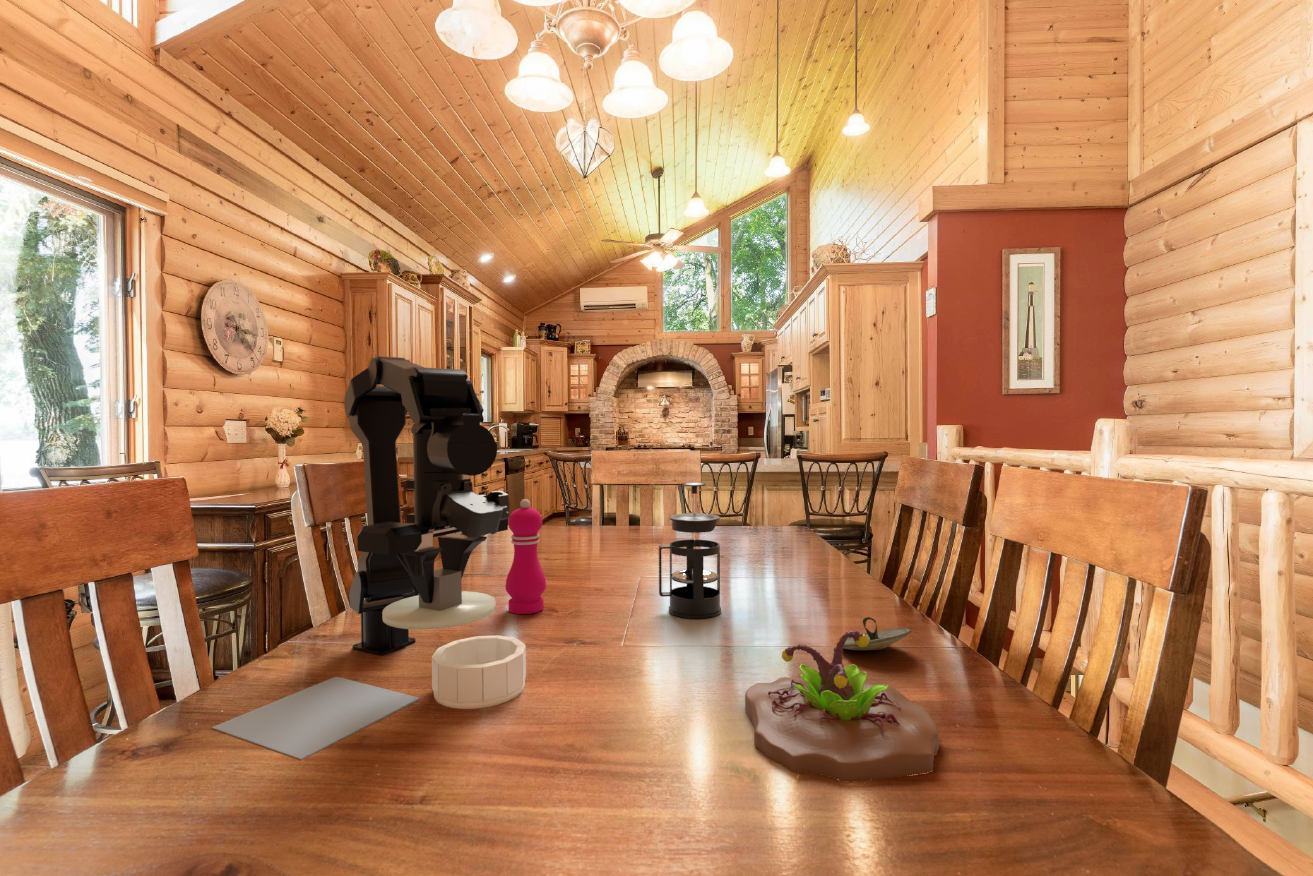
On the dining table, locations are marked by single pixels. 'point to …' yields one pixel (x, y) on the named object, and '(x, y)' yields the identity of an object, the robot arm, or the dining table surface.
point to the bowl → (478, 671)
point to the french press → (693, 566)
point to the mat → (316, 716)
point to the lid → (878, 638)
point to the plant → (840, 722)
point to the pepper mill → (525, 562)
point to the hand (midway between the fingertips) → (440, 598)
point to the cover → (440, 605)
